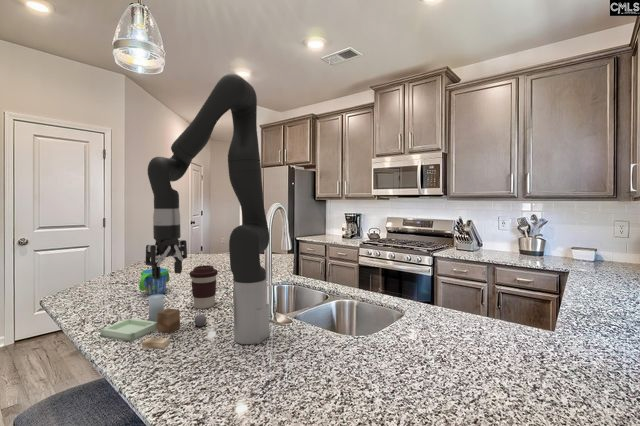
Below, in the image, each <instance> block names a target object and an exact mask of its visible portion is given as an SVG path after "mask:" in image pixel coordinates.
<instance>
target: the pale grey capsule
mask: <svg viewBox="0 0 640 426" xmlns="http://www.w3.org/2000/svg"><path fill="white" fill-rule="evenodd" d="M164 296H165V295H164V294H156V295H151V296H148V297H147V298H148V303H147V304H148V321H153V322H157V313H158V312H161V311H163V310H165V305H164V303H165V300H164V299H165V298H164Z"/></svg>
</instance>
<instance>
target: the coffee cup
mask: <svg viewBox="0 0 640 426" xmlns="http://www.w3.org/2000/svg"><path fill="white" fill-rule="evenodd" d="M189 276H190V278H191V291H192V292H191V293H192V298H193V306H194V308H195V309H200V310H202V309H210V308H212V307H214V306H215V302H216V301H215V300H216V298H215V297H216V294H217V293H216V292H217V276H218V269H217V268H215V267H214V266H213V265H210V264H209V265H208V264H207V265H198V266H194V268H193V270H191V271H190V272H189Z"/></svg>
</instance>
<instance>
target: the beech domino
mask: <svg viewBox="0 0 640 426" xmlns="http://www.w3.org/2000/svg"><path fill="white" fill-rule="evenodd" d="M167 345H168V346H169V345H170V338H169V337H148V338H146V339H145V340H143V341H141V349H154V350H155V349H156V350H163V349H165V348H167V347H168V346H167Z"/></svg>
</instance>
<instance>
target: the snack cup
mask: <svg viewBox="0 0 640 426" xmlns="http://www.w3.org/2000/svg"><path fill="white" fill-rule="evenodd" d="M160 270H161V278H160V279H158V280H157V279H153V277H152V268H147V269H143V270H141V272H140V275H141V277H140V280H139V284H138V289H139V291H142V292H143V291H144V293H145V295H147V296H148V297H149V296H151V295H156V294H162V295H164V293H166V289H167V283H169V282H170V280H171V279H170V274H169V273H170V272H169V269H168V268H165V267H164V268H163V267H160Z"/></svg>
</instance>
